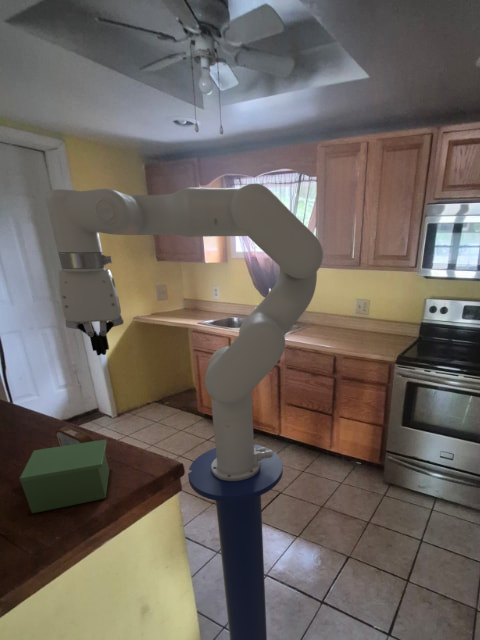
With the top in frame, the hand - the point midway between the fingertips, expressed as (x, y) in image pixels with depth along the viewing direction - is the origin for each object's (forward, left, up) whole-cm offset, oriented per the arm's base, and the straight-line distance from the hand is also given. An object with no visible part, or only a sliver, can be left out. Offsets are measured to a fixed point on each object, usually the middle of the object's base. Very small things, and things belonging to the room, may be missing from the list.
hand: (101, 353), depth 79 cm
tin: (+11, -8, -29) cm, 32 cm away
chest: (+10, +6, -29) cm, 31 cm away
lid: (+10, +6, -21) cm, 24 cm away
